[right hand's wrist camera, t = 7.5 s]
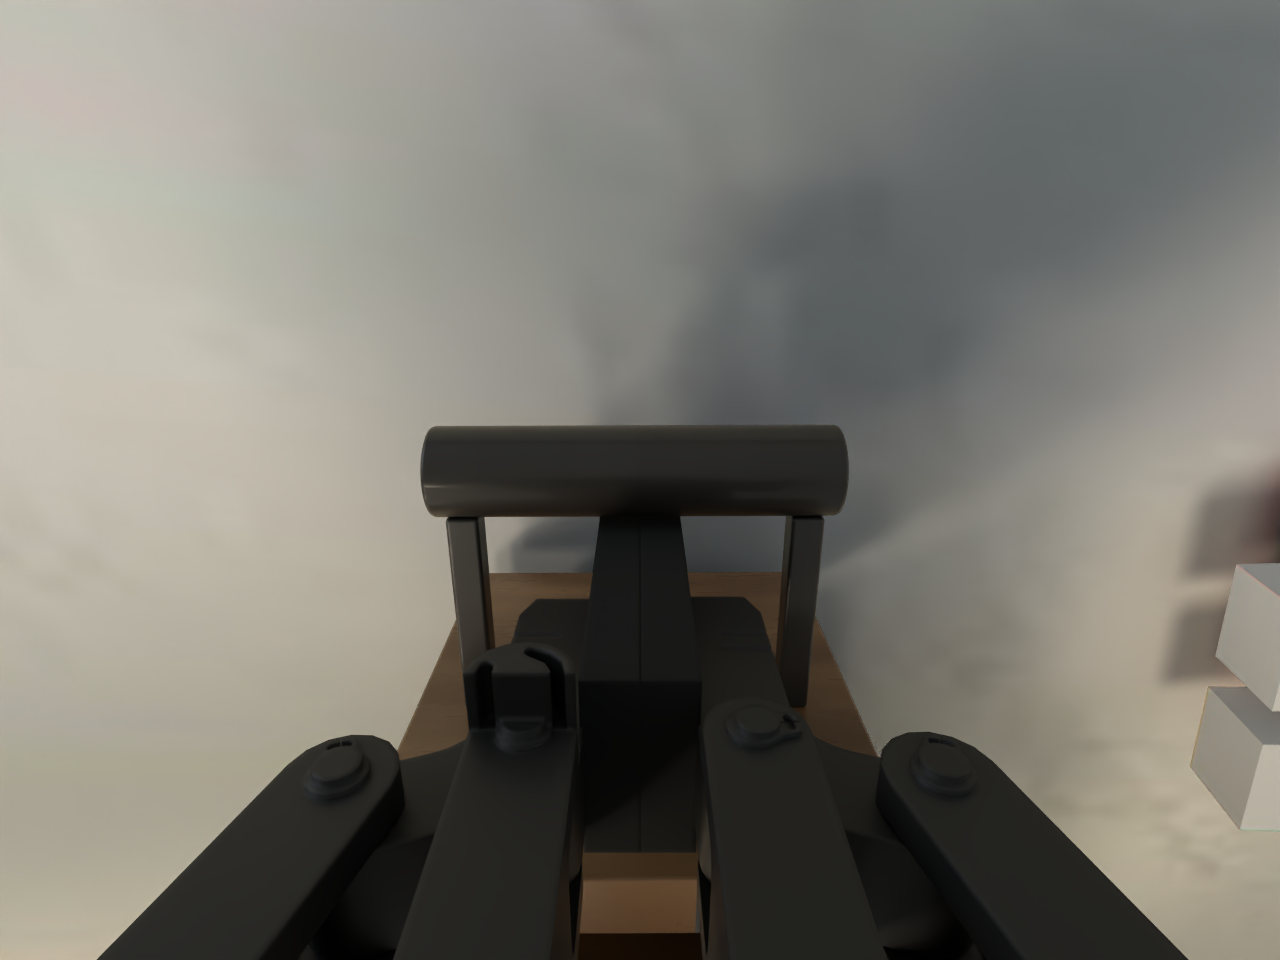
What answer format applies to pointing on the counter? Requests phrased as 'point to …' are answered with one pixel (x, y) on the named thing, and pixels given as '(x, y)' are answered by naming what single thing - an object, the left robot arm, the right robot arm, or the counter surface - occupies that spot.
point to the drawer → (491, 602)
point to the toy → (1246, 705)
